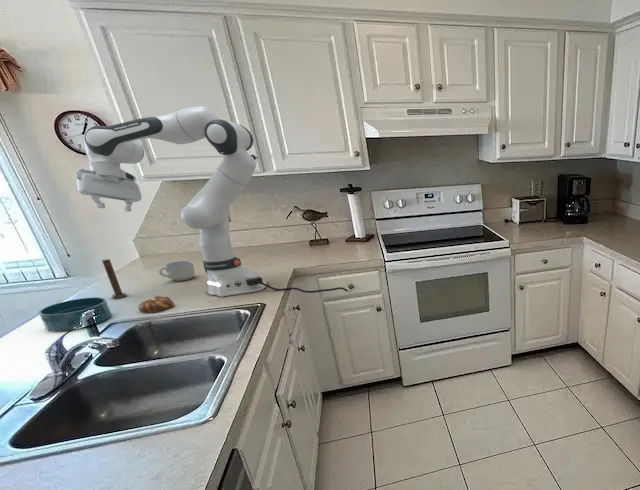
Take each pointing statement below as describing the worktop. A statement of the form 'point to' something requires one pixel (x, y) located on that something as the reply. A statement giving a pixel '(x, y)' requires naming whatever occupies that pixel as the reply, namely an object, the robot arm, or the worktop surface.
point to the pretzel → (156, 304)
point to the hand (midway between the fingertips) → (115, 209)
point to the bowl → (73, 313)
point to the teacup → (178, 270)
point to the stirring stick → (113, 280)
